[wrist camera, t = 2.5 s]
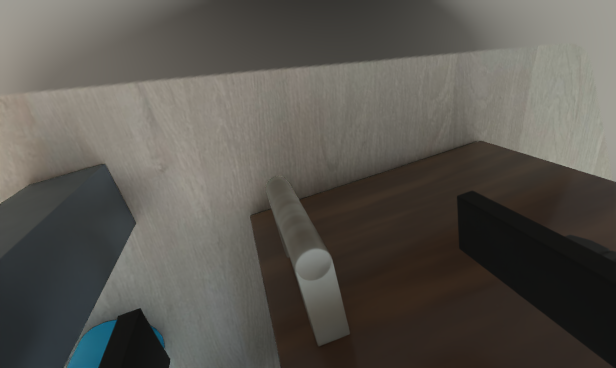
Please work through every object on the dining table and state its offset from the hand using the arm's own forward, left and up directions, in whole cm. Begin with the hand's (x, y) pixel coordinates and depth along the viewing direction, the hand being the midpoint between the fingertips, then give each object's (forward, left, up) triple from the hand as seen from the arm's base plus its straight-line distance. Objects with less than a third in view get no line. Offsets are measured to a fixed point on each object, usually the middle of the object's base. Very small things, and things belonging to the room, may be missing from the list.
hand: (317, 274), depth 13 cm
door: (+3, +10, -19) cm, 22 cm away
